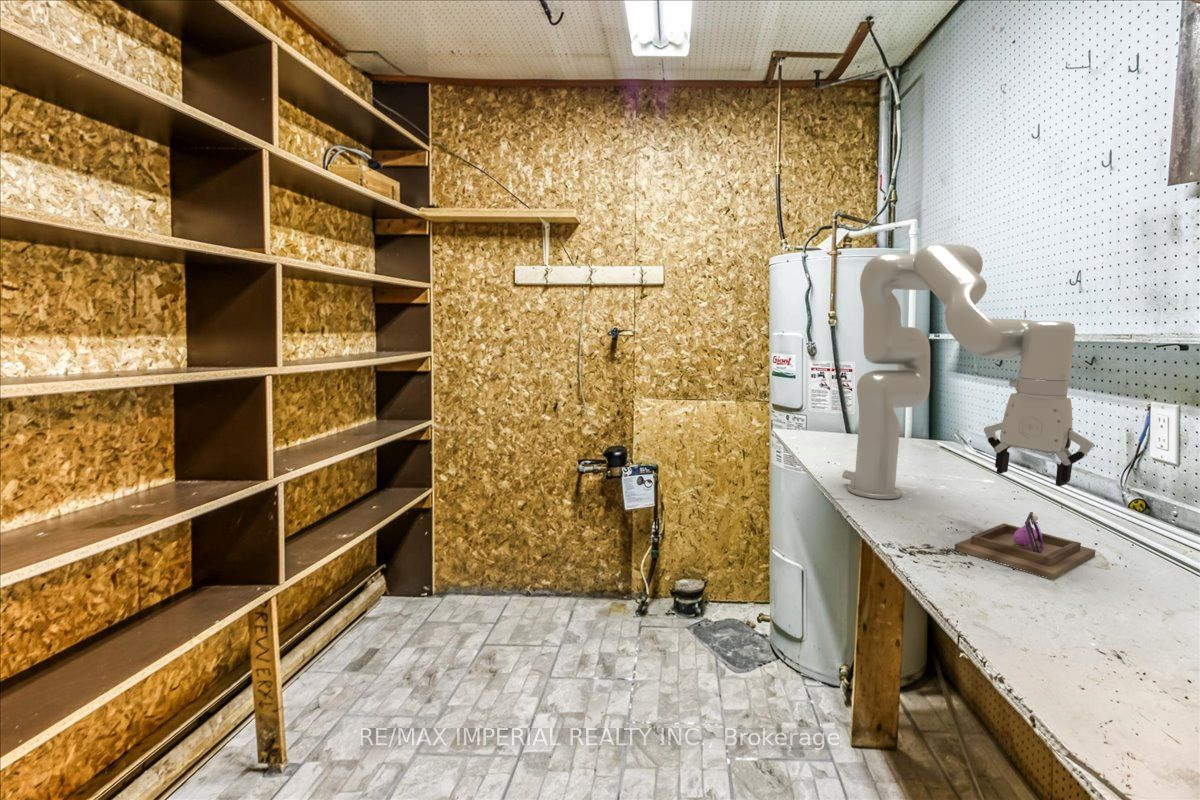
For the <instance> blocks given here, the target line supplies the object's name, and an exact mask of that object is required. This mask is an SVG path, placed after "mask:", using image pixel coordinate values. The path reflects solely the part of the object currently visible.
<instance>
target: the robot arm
mask: <svg viewBox="0 0 1200 800" xmlns="http://www.w3.org/2000/svg"><path fill="white" fill-rule="evenodd" d="M982 269H983V258H982V255H981V254H980V252H979V251H978V250H977V249H976V248H974V247H972V246H969V245H965V244H947V243H946V244H945V243H934V244H929V245H926V246H924V247H922V248H921V249H919V250H918V251H917V252H916V253H913V254H912V253H899V252H898V253H897V252H895V253H894V252H890V253H889V252H888V253H881V254H878V255H876V256H874V257H872V258H871V259H869V260H868V261H867V263H866V264H865V265H864V267H863V269H862V272H861V275H860V279H859V290H860V296H861V301H862V302H861V303H862V308H863V310H862V311H863V322H862V323H863V326H862V327H863V331H862V332H863V336H862V337H863V338H862V339H863V355H864V358H865V359H866V361H867V362H869V363H870V364H872V365H873V364H875V365H886V366H887V365H889V366H891V365H897V367H898V368H897V369H877V370H876V369H875V370H872V371H871V370H870V371H868V372H866V373H864V374H863V375H862V376H861V377H860V378H859V380H858V381H857V385H856V395H857V397H856V398H857V403H858V404H857V405H858V429H857V442H856V443H857V445H856V459H855V470H854V471H852V470H848V469H845V470H844V471H843V474H842V475H841V478H842V479H845V480H850V482H849V484H848V485H847V490H848V491H849V492H850V493H851V494H854V495H856V496H859V497H863V498H864V497H865V498H869V499H878V500H895V499H898V498H901V497H902V490H900V489H901V488H900V489H899V488H897V487H896V481H897V479H896V478H897V470H898V469H897V467H898V457H899V456H898V455H899V444H900V429H901V428H900V426H901V425H900V421H899V419H898V415H897V413H895V410H894V409H897V408H914V407H915V408H916V407H919V406H921V405H922V404H924V403H926V400H927V398H928V397H929V394H930V390H931V389H930V387H931V345H930V341H929V339H928V336H927V335H926V333H925V332H924V331H922V330H921V329H919V328H917V327H914V326H913V327H912V326H911V327H910V326H909V327H908V326H902V310H901V306H900V303H899V301H898V298H897V297H896V295H895V294H894V292H892V291H894V290H905V291H907V290H908V291H929V290H930V291H931V292H932V293H933V294H934V295H935V296H936V297H937V299H939V300H940V302H941V303H943V305H944V306H945V310H944V320H945V325H946V328H947V330H948V332H949V333H950V334H951V336H952V337H953V338H954V339H955V340H956V342H958V343H959V346H960V345H961V347H962V348H964V350H966V352H968V353H970V354H971V355H973V356H976V357H979V358H982V359H983V358H984V359H995V358H997V359H999V358H1000V359H1001V358H1002V359H1003V358H1004V359H1020V361H1019V370H1018V376H1017V377H1016V379H1010V380H1009V383H1008V385H1009V387H1013V388H1015V392H1013V393H1010V395H1009V397H1008V400H1007V403H1006V406H1005V407H1006V408H1005V410H1004V414H1003V417H1002V418H1003V420H1002V422H999V423H996V424H992V425H989V426H986V427H984V428H983V432H984V434H985V437H986V438H987V442H988V443H989V445H990V446H991V447H992V448H993V451H994V452H995V453H996V455H995V462H994V463H995V464H994V468H996V474H1000V475H1001V474H1004V473H1007V472H1008V471H1009V463H1010V451H1008V450H1009V449H1010V448H1011V447H1012V448H1019V449H1025V450H1030V451H1035V452H1041V453H1047V454H1048V453H1049V454H1055V456H1056V457H1057V458H1058V459H1059V460H1060V461H1059V462H1060V463H1059V464H1057V469H1056V470H1057V471H1056V477H1055V485H1056V486H1057V487H1062V486H1066V485H1067V483H1069V482H1070V481H1071V478H1072V477H1071V476H1072V471H1073V469H1072V468H1073V464H1075V463H1077V462H1078V461H1080V460H1082V459H1084V458H1085V457H1086V456H1087V455H1088V454H1089V453H1090V451H1092V449H1093V448H1094V447H1095V444H1094V442H1092V441H1091V440H1089V439H1087V438H1085V437H1084V436H1083V435H1082V436H1081V435H1080V434H1078V433H1077V432H1075V431H1074V430H1073V406H1072V399H1071V398H1070V397H1067V396H1068V391H1069V382H1070V377H1071V376H1070V375H1071V369H1072V368H1071V367H1072V362H1073V361H1072V360H1073V355H1074V354H1073V352H1074V345H1075V340H1076V339H1075V337H1076V326H1075V325H1074V324H1073V323H1071V322H1070V321H1061V320H1059V321H1058V320H1057V321H1056V320H1030V319H1020V318H1019V319H1018V318H1015V319H1014V318H1013V319H1012V318H990V317H988V316H987V315H986V314H985V313H983V312H982V311H981V310H980V309H979V307H978V306H976V304H978V303H979V302H980V300H982V298H983V297H984V296H985V294H986V292H987V288H988V285H987V282H986V280H985V279H984V278H983V276H981V275H980V274H981V272H982ZM998 431H1000V432H999V433H1000V434H999V438H998V437H997V434H996V432H998ZM1072 442H1074V443H1075V444H1077V445H1078V446H1079V449H1078V450H1076V452H1075V453H1073V454H1072V453H1071V451H1070V450H1069V449H1070V447H1071V445H1072Z"/></svg>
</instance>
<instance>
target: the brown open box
mask: <svg viewBox="0 0 1200 800" xmlns="http://www.w3.org/2000/svg"><path fill="white" fill-rule="evenodd" d="M1019 528H1021V527H1019V526H1015V525H1012V524H1008V523H1001V524H998V525H996V526H994V527H991V528H989V529H986V530H984V531H980V532H979V533H975V534H973V535H971V537H970V538H967V539H964V540H962V541H960V542H957V543H955V544H954V551H956V552H959V553H962V554H965V553H966V555H968V554H970V555H969V556H972V555H973V557H975V556H977V557H976V558H978V557H981V558H980V559H982V558H984V559H983V560H985V559H988V560H992V561H995V562H998V563H1002V564H1006V565H1009V566H1012V567H1015V568H1018V569H1022V570H1025V571H1028V572H1031V573H1034V574H1037V575H1040V576H1039V577H1041V576H1044V577H1047V578H1050V579H1054V578H1056V577H1057V578H1059V577H1061V576H1062V575H1061V574H1063V573H1064V574H1066V573H1068V572H1070V571H1071V570H1073V569H1075V568H1076V566H1077V567H1078V566H1080V565H1081V564H1084V563H1086V562H1087V561H1088V560H1090V559H1092V558H1094V557H1096V549H1093V548H1089V547H1085V546H1081V544H1082V543H1081V542H1078V541H1075V540H1071V539H1067V538H1063V537H1060V536H1059V537H1058V536H1055V535H1052V534H1051V535H1050V534H1048V533H1043V532H1041V535H1042V540H1043V542H1042V543H1043V549H1042V552H1041V554H1040V553H1036V552H1034V551H1033V548H1032V545H1031V544H1029V545H1027V546H1019V545H1016V546H1011V545H1012V544H1013V543H1014V540H1013V535H1014V533H1015V532H1016V531H1017V530H1018V529H1019ZM1036 542H1037V546H1038V549H1039V547H1040V543H1039V539H1038V536H1037V539H1036ZM988 560H987V561H988ZM995 562H994V563H995ZM998 563H997V564H998ZM1074 567H1075V568H1074ZM1072 568H1073V569H1072ZM1018 569H1017V570H1018ZM1069 570H1070V571H1069ZM1067 571H1068V572H1067ZM1065 572H1066V573H1065ZM1031 573H1030V574H1031ZM1034 574H1033V575H1034ZM1064 574H1063V575H1064ZM1037 575H1036V576H1037ZM1060 575H1061V576H1060ZM1058 576H1059V577H1058ZM1044 577H1043V578H1044ZM1047 578H1046V579H1047ZM1057 578H1056V579H1057ZM1050 579H1049V580H1050ZM1054 580H1055V579H1054Z"/></svg>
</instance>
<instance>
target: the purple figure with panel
mask: <svg viewBox="0 0 1200 800" xmlns="http://www.w3.org/2000/svg"><path fill="white" fill-rule="evenodd" d="M1038 520H1039V516H1038V515H1037V514H1036V513H1034V512H1033V511H1030V512H1029V514H1028V516H1027V517H1026V520H1025V522H1024V525H1023V526H1022V527H1020V528H1019V529H1018V530H1017V531H1016V532H1015V533H1014V535H1013V540H1014V543H1013V544H1012V545H1011V546H1016V545H1019V546H1027V545H1029V544H1031V545H1032V548H1033V551H1034V552H1036V553H1040V554H1041V552H1042V549H1043V543H1042V542H1043V540H1042V535H1041V533H1042V532H1041V529H1040V525H1039V524H1038V523H1037V521H1038ZM1032 525H1033V526H1034V527H1032ZM1037 536H1038V539H1039V543H1040V547H1039V549H1038V546H1037V542H1036V539H1037Z"/></svg>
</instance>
